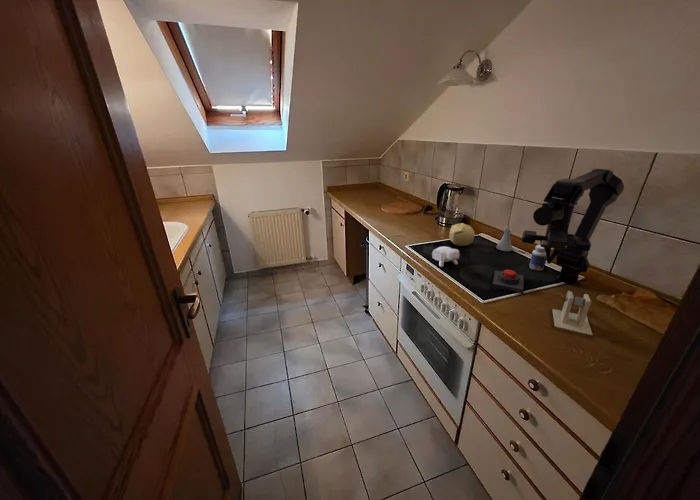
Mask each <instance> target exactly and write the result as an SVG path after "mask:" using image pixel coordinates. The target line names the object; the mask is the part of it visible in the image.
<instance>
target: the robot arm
mask: <svg viewBox="0 0 700 500" xmlns="http://www.w3.org/2000/svg"><path fill="white" fill-rule="evenodd" d="M624 185H625V184H624V182H623V179H621V178H620V177H618V176H616V175H615V174H614V172H613V171H612V170H611V169H606V168H593V169H592V170H591V171H588V172H586V173H584V174H582V175H579V176H576V177H575V178H561V179H560V178H559V179H558V180H556V181H555V182H554V183H553V184H552V186H551V187H550V189H549V191H548V192H547V194H546V195H545V197H544V199H543V203H542V205H541V206H540V207H537V208H536V210H534V212H533V215H532V217H533V218H532V219H533V221H534V222H535V224H536V225H539V226H547V227H546V230H545V233H544V234H545V235H543V234H542V235H541V234H537V231H535V230H527V229H526V230H523V231H522V235H521V243H525V244H531V245H532V244H534V243H536V242H537V241H538V242H539V241H540V242H539V243H540V244H539V245H540V246H541V247H544V249H545V252H546V257H547V259H546V264H547V265H548V264H549V265H551V264H552V263H553V261H554V260H555V258H556V265H559V266H561V267H560V268H561V269H560V272H559V274H557V275H556V279H558V280H559V281H560V282H562V283H563V284H566V285H571V286H574V285H575V284H576V283H578V282H579V276H580V273H587V271H588V269H589V267H590V262H589V260H588V256H589V252H590V250H591V246H592V243H591V237H592V235H593V234H594V232H595V230H596V228H597V226H598V224H599V222H600V220H601V219H602V216H603V214H604V212H605V210H606V208H607V207H608V206H610V205H612V204H614V203H615V202H616V201H617V200H618V198H619V197H620V195H622V193H623V192H624V189H625V186H624ZM588 190H589V192H588V198H589V201H590V202H589V204H588V206H587V208H586V211H585V212H584V214H583V216H582V218H581V220H580V222H579V224H578V226H577V228H576V230H575V231H574V233H573V234H572V233H569V227H570V224H571V220H572V216H573V212H574V210H575V206H577V205H578V201H579V200H580V199H581V197H583V196H584V194H585V191H588Z"/></svg>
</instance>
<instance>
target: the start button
mask: <svg viewBox="0 0 700 500" xmlns="http://www.w3.org/2000/svg"><path fill="white" fill-rule="evenodd" d="M503 271H504V274H503V276H505V277H507V278H515V276H516V273H517V272H516V271H515V270H513V269H504V270H503Z"/></svg>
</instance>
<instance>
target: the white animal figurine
mask: <svg viewBox="0 0 700 500" xmlns="http://www.w3.org/2000/svg"><path fill="white" fill-rule="evenodd" d="M460 257H461V256H460V250H458V249H457V248H452V247H451V246H443V245H442V246H439V247H437V248H434V249H433V250H432V252H431V259H432V260H433V259H434V260H435V261H437V262H438V266H439V267H440V268H443V267H444V266H445V265H444V263H449V262H452V263H453V264H454V265H455V266H457V265H459V262H458V260H459V259H460Z"/></svg>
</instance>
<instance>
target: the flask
mask: <svg viewBox="0 0 700 500" xmlns="http://www.w3.org/2000/svg"><path fill="white" fill-rule="evenodd" d="M503 230H504V232H503V235H502V237H501V239H500V240H499V242H498V243H497V245H496V249H497V250H499V251H503V252H511V251H513V245H512V239H511V232H512V229H511V228H508V227H507V228H504V229H503Z"/></svg>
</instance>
